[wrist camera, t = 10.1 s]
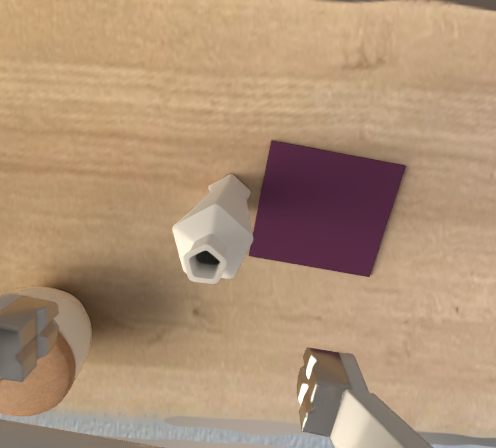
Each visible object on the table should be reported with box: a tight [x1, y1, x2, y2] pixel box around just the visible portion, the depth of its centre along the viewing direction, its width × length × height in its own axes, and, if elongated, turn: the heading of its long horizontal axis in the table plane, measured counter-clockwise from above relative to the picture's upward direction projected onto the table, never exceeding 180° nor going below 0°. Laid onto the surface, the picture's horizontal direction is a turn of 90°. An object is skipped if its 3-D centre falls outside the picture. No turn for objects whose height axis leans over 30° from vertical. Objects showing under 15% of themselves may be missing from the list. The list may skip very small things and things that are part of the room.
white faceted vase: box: [172, 174, 253, 284], centre depth 23 cm, size 5×4×15 cm
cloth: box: [249, 141, 406, 277], centre depth 31 cm, size 12×11×1 cm
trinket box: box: [0, 286, 92, 416], centre depth 30 cm, size 11×11×9 cm
